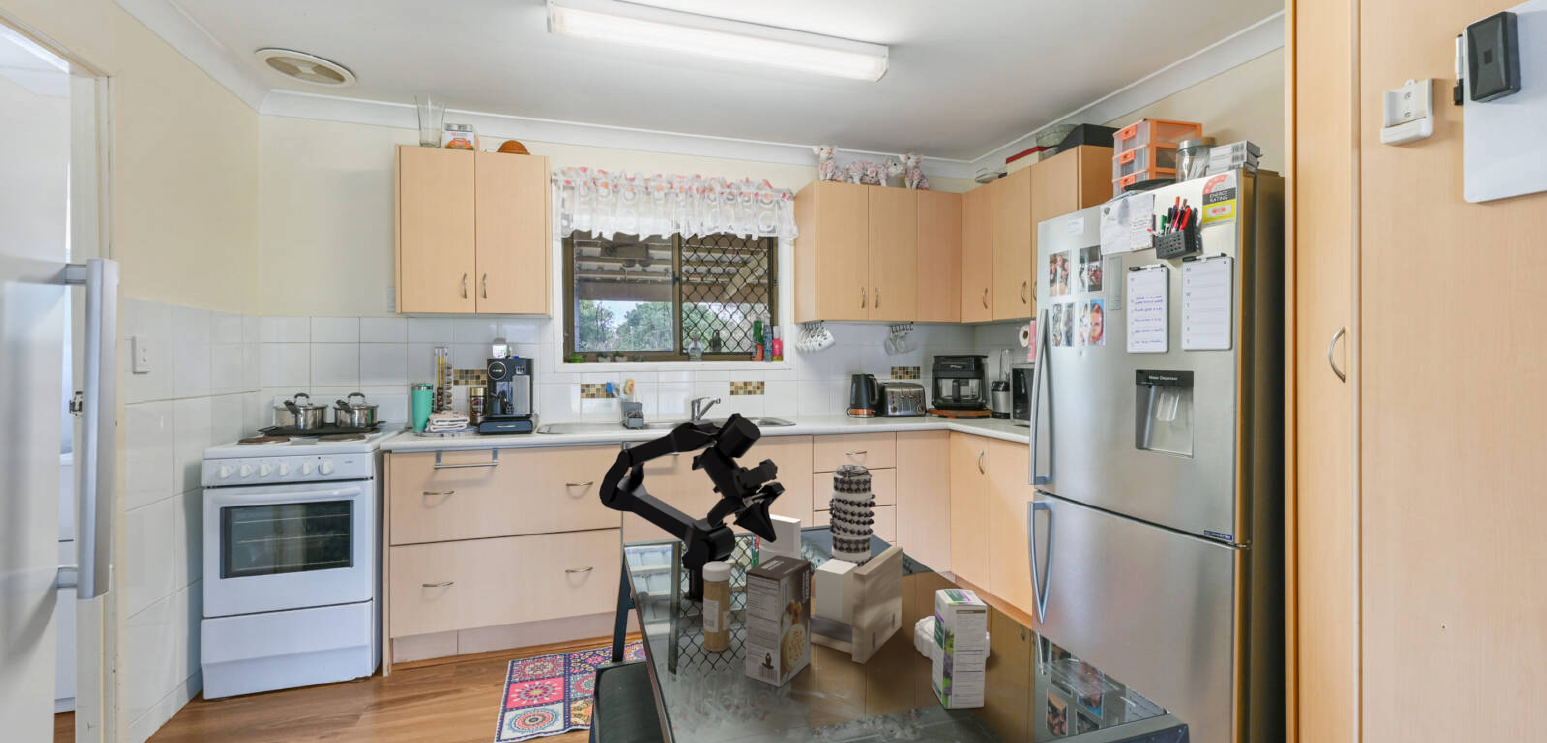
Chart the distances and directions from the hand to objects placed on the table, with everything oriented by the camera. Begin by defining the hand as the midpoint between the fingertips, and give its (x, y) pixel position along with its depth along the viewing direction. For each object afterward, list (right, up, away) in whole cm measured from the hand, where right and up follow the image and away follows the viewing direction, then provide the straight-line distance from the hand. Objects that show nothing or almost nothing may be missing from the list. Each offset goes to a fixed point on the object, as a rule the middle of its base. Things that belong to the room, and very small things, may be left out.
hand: (774, 541), depth 118 cm
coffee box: (+1, -15, -19) cm, 24 cm away
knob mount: (+14, -14, -8) cm, 21 cm away
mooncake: (+29, -15, -12) cm, 35 cm away
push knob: (+10, -13, -6) cm, 17 cm away
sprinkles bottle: (-9, -14, -12) cm, 21 cm away
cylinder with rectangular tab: (+1, -13, +22) cm, 25 cm away
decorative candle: (+15, -13, +12) cm, 24 cm away
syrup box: (+26, -15, -27) cm, 40 cm away
